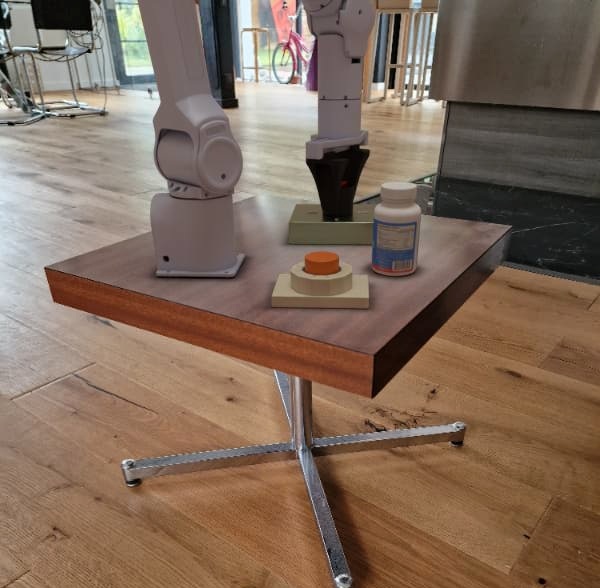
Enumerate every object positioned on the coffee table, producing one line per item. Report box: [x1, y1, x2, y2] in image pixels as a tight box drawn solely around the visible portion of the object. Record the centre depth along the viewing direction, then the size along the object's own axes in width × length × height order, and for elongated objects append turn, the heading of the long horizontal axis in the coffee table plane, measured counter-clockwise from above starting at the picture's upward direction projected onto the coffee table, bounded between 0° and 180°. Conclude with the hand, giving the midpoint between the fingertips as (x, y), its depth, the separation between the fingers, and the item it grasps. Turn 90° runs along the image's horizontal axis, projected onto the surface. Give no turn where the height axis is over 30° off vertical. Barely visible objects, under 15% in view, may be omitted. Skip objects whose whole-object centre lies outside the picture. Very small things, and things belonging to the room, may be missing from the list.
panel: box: [288, 203, 379, 246], centre depth 82 cm, size 13×11×3 cm
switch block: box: [271, 260, 370, 309], centre depth 61 cm, size 10×7×3 cm
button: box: [304, 250, 340, 275], centre depth 60 cm, size 4×4×2 cm
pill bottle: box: [371, 181, 422, 277], centre depth 66 cm, size 6×5×10 cm
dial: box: [322, 181, 355, 216], centre depth 80 cm, size 4×4×4 cm
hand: (337, 206), depth 81 cm, fingers closed on dial, 4 cm apart
